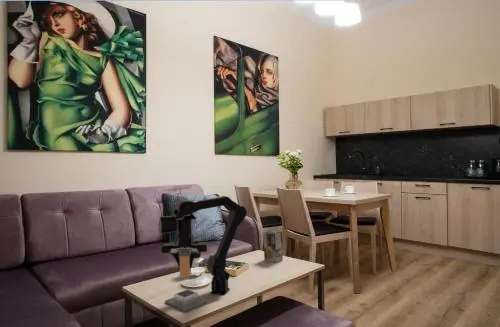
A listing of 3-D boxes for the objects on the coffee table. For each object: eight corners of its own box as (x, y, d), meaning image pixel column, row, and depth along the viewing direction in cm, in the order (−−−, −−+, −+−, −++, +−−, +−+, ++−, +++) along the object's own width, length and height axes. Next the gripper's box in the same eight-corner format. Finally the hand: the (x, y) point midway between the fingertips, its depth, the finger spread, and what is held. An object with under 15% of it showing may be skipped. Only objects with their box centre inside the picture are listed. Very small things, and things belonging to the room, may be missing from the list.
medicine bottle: (199, 276, 160) (198, 252, 160) (186, 275, 161) (185, 252, 161) (204, 271, 167) (203, 248, 167) (191, 271, 168) (190, 248, 168)
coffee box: (283, 260, 183) (282, 232, 183) (276, 263, 178) (275, 234, 178) (270, 257, 189) (270, 230, 189) (263, 260, 184) (263, 232, 184)
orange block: (191, 273, 135) (190, 249, 135) (189, 276, 131) (189, 252, 131) (182, 273, 135) (181, 250, 135) (180, 277, 131) (179, 252, 131)
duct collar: (207, 302, 129) (207, 293, 129) (185, 312, 121) (185, 302, 121) (186, 294, 138) (186, 285, 138) (164, 302, 130) (164, 293, 130)
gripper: (209, 226, 141) (210, 261, 141) (167, 227, 141) (168, 262, 141) (206, 231, 130) (207, 269, 130) (160, 232, 130) (161, 271, 130)
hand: (185, 268), depth 133 cm, fingers closed on orange block, 4 cm apart
